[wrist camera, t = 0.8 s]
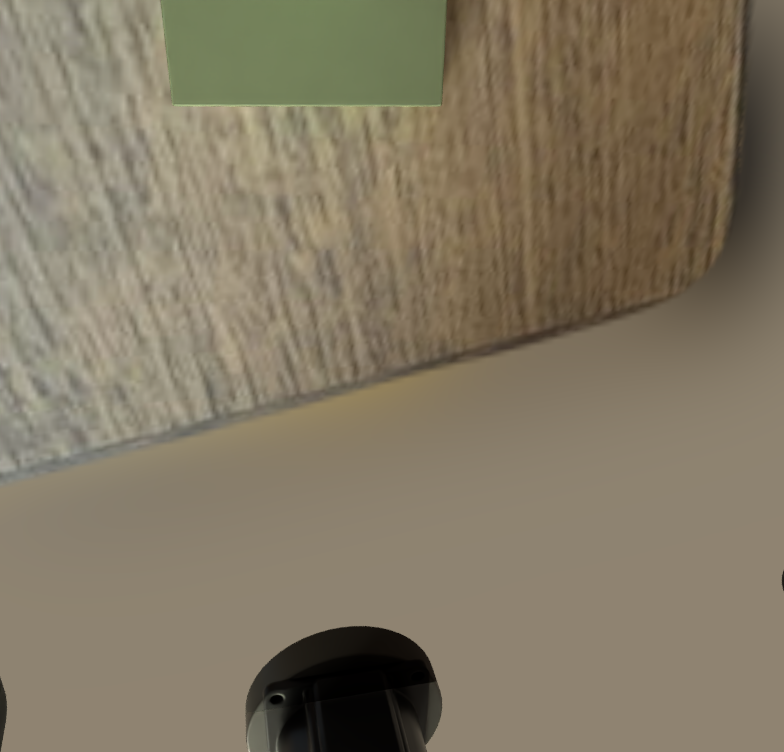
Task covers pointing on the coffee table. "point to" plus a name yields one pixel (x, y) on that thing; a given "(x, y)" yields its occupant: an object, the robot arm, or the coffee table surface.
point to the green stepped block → (305, 52)
